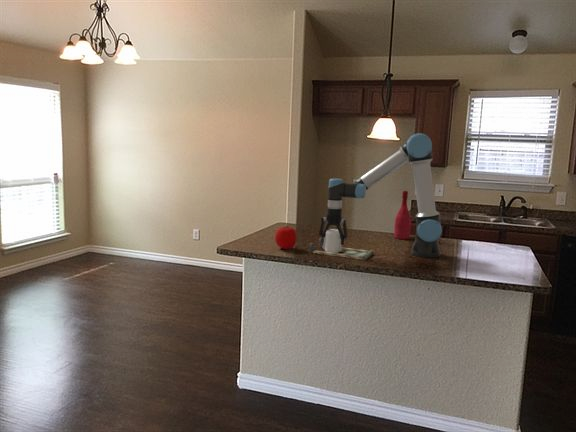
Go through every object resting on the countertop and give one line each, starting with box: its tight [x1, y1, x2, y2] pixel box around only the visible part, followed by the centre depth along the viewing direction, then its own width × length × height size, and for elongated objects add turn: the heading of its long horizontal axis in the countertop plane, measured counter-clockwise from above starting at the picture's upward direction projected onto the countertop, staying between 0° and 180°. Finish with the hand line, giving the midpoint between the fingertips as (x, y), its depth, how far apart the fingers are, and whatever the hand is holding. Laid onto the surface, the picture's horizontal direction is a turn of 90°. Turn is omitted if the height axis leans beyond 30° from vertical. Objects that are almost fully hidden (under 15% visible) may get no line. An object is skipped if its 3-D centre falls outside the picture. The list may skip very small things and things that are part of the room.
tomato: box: [274, 225, 297, 250], centre depth 255 cm, size 12×12×13 cm
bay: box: [309, 237, 374, 261], centre depth 250 cm, size 30×17×5 cm, turn 67°
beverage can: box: [324, 228, 341, 253], centre depth 251 cm, size 8×8×12 cm
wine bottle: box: [393, 190, 412, 240], centre depth 292 cm, size 10×10×30 cm
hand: (332, 249), depth 252 cm, fingers closed on beverage can, 8 cm apart
